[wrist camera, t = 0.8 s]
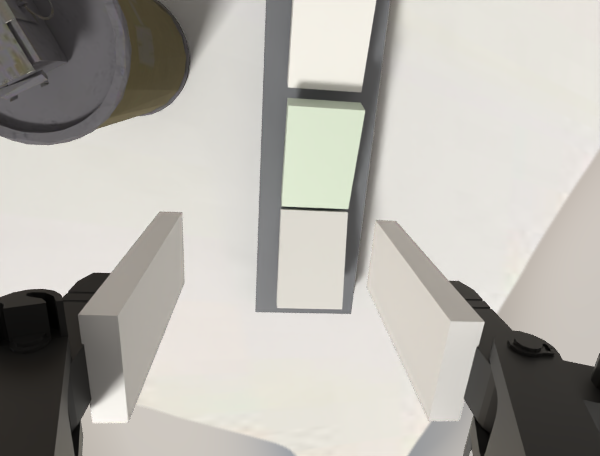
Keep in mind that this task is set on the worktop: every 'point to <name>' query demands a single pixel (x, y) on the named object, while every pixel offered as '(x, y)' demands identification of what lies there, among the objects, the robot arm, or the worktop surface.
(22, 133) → the canister
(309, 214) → the block
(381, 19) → the rocker switch panel
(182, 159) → the worktop surface
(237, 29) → the worktop surface
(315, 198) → the rocker mid
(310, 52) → the block
